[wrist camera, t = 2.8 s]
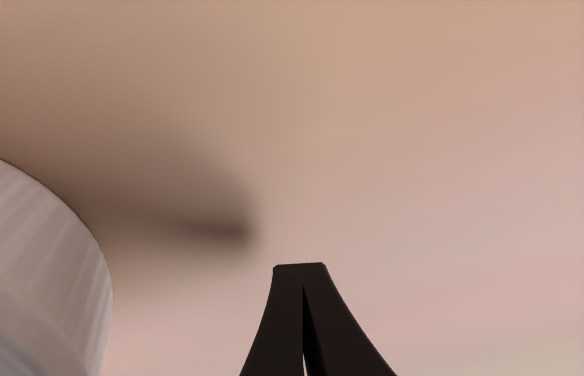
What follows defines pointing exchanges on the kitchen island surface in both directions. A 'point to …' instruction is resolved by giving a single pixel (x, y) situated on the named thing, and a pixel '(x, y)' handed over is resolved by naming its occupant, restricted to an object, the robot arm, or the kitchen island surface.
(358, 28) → the kitchen island surface
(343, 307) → the robot arm
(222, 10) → the kitchen island surface
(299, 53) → the kitchen island surface
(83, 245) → the ramekin
